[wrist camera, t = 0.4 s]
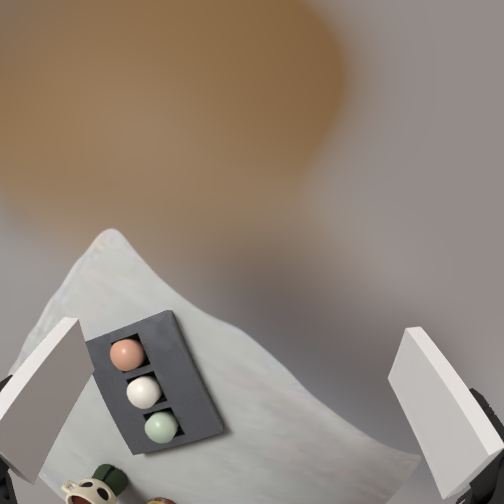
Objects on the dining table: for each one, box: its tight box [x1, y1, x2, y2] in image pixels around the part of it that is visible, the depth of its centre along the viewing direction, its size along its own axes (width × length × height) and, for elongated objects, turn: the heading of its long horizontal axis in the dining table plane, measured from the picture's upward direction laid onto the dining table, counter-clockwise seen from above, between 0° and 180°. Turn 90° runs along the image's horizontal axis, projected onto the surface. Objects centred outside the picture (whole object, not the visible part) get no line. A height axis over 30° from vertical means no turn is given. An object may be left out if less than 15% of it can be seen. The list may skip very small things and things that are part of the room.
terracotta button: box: [110, 339, 146, 371], centre depth 38 cm, size 4×4×4 cm
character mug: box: [61, 464, 127, 504], centre depth 31 cm, size 11×7×13 cm, turn 72°
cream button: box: [127, 375, 162, 409], centre depth 37 cm, size 4×4×4 cm
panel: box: [85, 310, 224, 455], centre depth 40 cm, size 20×16×3 cm
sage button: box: [145, 410, 179, 444], centre depth 36 cm, size 4×4×4 cm
